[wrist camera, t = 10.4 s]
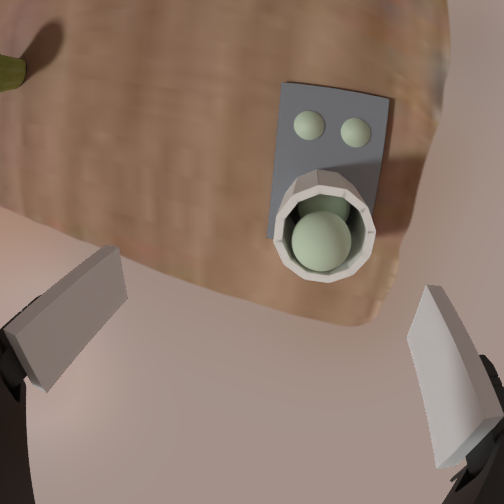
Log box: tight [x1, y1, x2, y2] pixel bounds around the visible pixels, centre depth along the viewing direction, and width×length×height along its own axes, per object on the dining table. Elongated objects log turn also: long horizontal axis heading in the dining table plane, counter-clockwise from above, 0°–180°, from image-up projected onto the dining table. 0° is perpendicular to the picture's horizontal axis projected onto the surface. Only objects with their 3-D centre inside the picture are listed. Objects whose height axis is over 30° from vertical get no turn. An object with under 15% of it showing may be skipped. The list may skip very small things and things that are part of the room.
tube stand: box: [267, 82, 389, 283], centre depth 31 cm, size 20×13×11 cm, turn 176°
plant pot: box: [0, 54, 26, 92], centre depth 33 cm, size 9×9×9 cm
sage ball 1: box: [298, 194, 350, 222], centre depth 34 cm, size 6×6×6 cm
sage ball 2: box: [291, 211, 351, 271], centre depth 30 cm, size 6×6×6 cm
